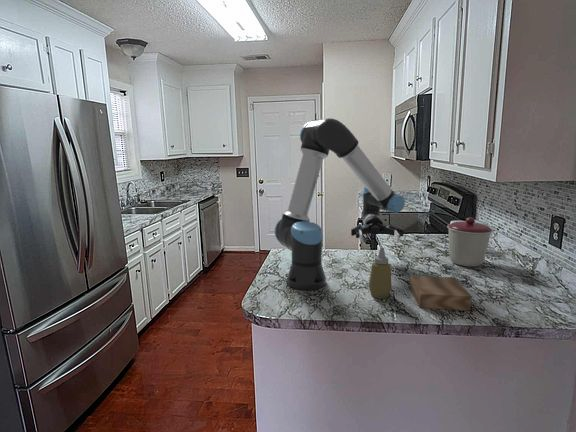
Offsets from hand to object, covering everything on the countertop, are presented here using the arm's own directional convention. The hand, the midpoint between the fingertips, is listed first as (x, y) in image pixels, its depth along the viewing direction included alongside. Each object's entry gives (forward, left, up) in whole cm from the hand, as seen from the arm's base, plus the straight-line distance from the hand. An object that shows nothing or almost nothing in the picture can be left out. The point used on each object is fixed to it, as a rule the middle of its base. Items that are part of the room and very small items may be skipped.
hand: (379, 238), depth 132 cm
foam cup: (+48, +54, -19) cm, 74 cm away
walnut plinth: (+20, -10, -19) cm, 29 cm away
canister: (+43, +29, -19) cm, 55 cm away
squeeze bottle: (0, -10, -19) cm, 21 cm away
